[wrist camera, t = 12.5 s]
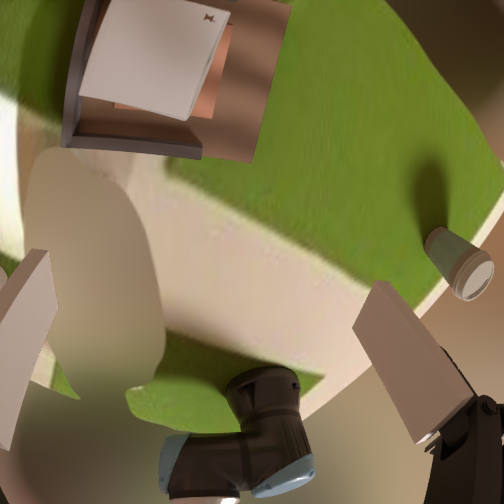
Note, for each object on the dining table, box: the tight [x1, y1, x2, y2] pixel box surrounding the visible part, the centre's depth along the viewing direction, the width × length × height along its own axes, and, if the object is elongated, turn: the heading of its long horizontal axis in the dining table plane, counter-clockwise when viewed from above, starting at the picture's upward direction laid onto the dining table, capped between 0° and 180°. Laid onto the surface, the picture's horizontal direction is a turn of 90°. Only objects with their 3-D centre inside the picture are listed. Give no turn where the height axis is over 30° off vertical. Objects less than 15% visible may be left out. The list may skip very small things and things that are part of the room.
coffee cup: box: [424, 227, 494, 301], centre depth 40 cm, size 8×8×12 cm
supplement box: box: [79, 0, 230, 121], centre depth 18 cm, size 7×7×13 cm
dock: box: [61, 0, 292, 164], centre depth 24 cm, size 18×20×5 cm
